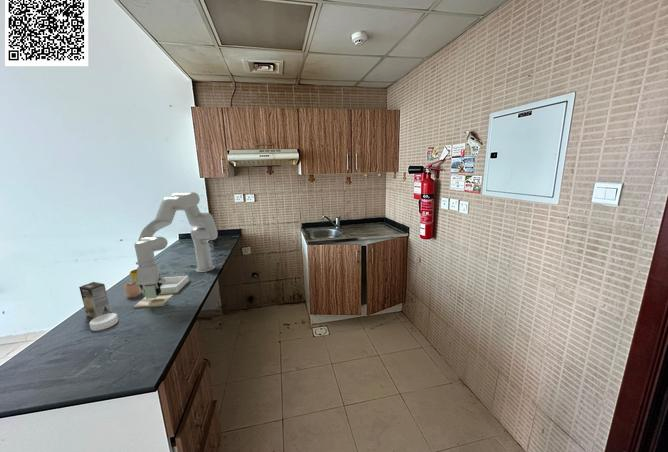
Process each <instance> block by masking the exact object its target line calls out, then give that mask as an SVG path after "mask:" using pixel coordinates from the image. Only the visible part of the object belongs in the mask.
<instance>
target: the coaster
mask: <svg viewBox="0 0 668 452" xmlns="http://www.w3.org/2000/svg"><path fill="white" fill-rule="evenodd" d="M118 321H119V319H118V314H117V313H114V312H112V313H108V314H104V315H101V316H98V317H96V318H92V319H91V320H90V321H89V328H90V330H91V331H93V332H95V331H102V330H106V329H108V328H111V327H112V326H114V325H116V324H117V323H118Z"/></svg>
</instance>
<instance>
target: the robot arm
mask: <svg viewBox="0 0 668 452" xmlns="http://www.w3.org/2000/svg"><path fill="white" fill-rule="evenodd" d="M200 201H201V198H200V195H199V194H198V193H197V192H193V191H192V192H191V191H190V192H188V191H186V192H185V191H183V192H174V193H172V194H171V195H170V196H165V197H164V198H163V199H162V201H161V202H160V205H159V208H158V211H157V213H156V216H155V217H154V219H152V220H151V221H150V222H148V224H147V225H145V227H144V228H143V229H142V230H141V232H140V235H139V237H138V240H137V241H136V242H135V243H134V251H135V254H136V259H137V261H135V265H137V268H136V269H137V279H138V281H137V282H136V285H138V286H140V287H141V290H143V293H144V294H145V291H144V286H146V285H151V284H154V285H155V286H156V294H157V295H159V294H160V293H161V288H160V286H161V285H162V284H163V283H164V282H165V281H166V280H165V279H164V278H165V277H163V276H162V273H161V269H160V267H159V265H158V264H157V263H156V259H155V258H156V257H155V252H157V251H159V252H160V251H162V250H164V249H166V247H167V246H168V240H167V238H165V237H163V236H154V235H155V234H156V232H158V231H160V230H162V229H164V228H166V227H168V226H171V224H172V223H173V220H174V218H175V215H176V212H177V211H180V212H181V211H184V212H185V216H186V218H187V221H188V224H189V225H190V226H191V227H193V228H192V229H191V231H190V236H191V239H192V241H193V246H194V251H195V258H196V265H197V267H196V268H195V271H196V272H197V273H205V272H206V273H207V272H209V271H212V270H214V269H215V268H216V266H215V265H214V264H213V263H212V262H213V259H212V255H211V248H210V244H209V242H208V241H213V240H216V239H217V238H218V235H219V233H218V229H217V225H216V222H215V219H214V217H213V215H212V214H211V213H209V212H201V211H200V209H199V207H198V204H199V203H200ZM159 281H161V282H159ZM160 295H161V294H160Z"/></svg>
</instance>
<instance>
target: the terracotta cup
mask: <svg viewBox="0 0 668 452" xmlns="http://www.w3.org/2000/svg"><path fill="white" fill-rule="evenodd" d="M136 282H137V281H133V280H132V281H128V282H126V283H124V291H125V296H126V298H127V299H129V298H130V299H131V298H137V297H139V296H141V295H142V293H143V292H142V288H141V287H140V286H138V285H136Z"/></svg>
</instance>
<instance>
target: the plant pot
mask: <svg viewBox="0 0 668 452" xmlns="http://www.w3.org/2000/svg"><path fill="white" fill-rule="evenodd" d="M129 276H130V278H131V279H132V281H138V279H137V268H136V269H132V270H130V271H129Z"/></svg>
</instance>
